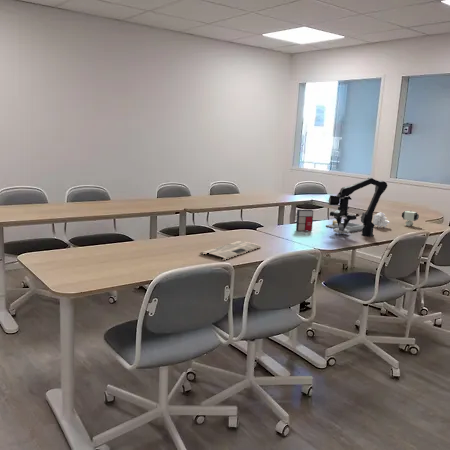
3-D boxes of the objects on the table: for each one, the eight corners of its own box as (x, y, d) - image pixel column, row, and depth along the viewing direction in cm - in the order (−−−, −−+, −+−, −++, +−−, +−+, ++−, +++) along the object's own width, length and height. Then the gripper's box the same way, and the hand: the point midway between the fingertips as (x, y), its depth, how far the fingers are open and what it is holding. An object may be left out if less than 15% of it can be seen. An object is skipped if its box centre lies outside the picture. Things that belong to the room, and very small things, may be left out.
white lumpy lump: (389, 229, 347) (391, 214, 345) (373, 228, 349) (374, 213, 347) (387, 226, 358) (389, 211, 355) (371, 225, 360) (373, 210, 358)
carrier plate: (363, 229, 344) (364, 224, 343) (350, 232, 333) (350, 226, 332) (339, 224, 360) (339, 219, 359) (325, 226, 349) (326, 221, 348)
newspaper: (224, 262, 250) (225, 257, 250) (197, 255, 262) (197, 250, 261) (260, 249, 280) (261, 244, 279) (234, 243, 291) (234, 239, 290)
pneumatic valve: (415, 227, 360) (417, 212, 357) (400, 224, 367) (402, 209, 365) (418, 226, 364) (419, 211, 361) (403, 223, 371) (404, 209, 369)
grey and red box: (297, 231, 329) (299, 210, 326) (295, 230, 334) (297, 209, 330) (312, 231, 332) (313, 210, 329) (310, 229, 336) (311, 209, 333)
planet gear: (352, 232, 324) (353, 223, 323) (343, 234, 317) (344, 225, 316) (339, 229, 332) (340, 220, 331) (330, 231, 325) (331, 222, 324)
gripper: (325, 204, 323) (323, 226, 326) (348, 208, 309) (346, 231, 312) (335, 203, 330) (333, 224, 333) (357, 207, 316) (355, 229, 319)
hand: (341, 227), depth 324 cm, fingers closed on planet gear, 4 cm apart
